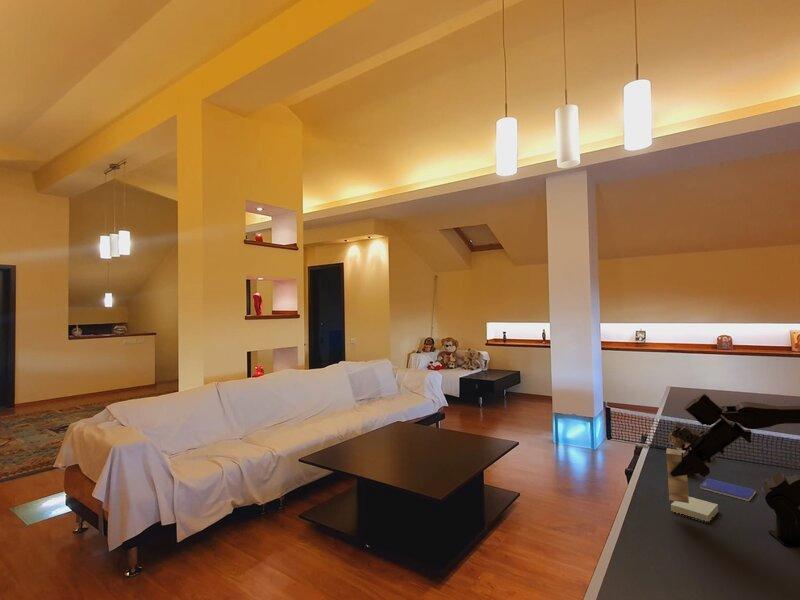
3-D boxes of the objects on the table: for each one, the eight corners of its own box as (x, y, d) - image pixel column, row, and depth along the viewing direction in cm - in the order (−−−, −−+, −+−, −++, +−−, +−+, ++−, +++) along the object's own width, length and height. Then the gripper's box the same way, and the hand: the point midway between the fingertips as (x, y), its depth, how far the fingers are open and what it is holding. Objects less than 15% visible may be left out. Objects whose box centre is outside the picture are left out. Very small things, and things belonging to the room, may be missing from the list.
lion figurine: (671, 457, 161) (670, 434, 161) (667, 453, 166) (666, 430, 167) (716, 460, 157) (715, 436, 157) (710, 455, 162) (709, 432, 162)
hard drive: (699, 485, 136) (748, 498, 126) (707, 477, 141) (755, 489, 131) (700, 490, 136) (749, 503, 126) (708, 482, 141) (755, 494, 131)
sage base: (718, 513, 121) (717, 504, 121) (708, 524, 115) (707, 515, 115) (682, 502, 128) (681, 494, 128) (671, 513, 122) (670, 504, 122)
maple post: (688, 496, 119) (685, 450, 120) (688, 503, 116) (685, 455, 116) (669, 493, 122) (666, 448, 122) (669, 499, 118) (666, 453, 118)
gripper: (690, 407, 125) (649, 439, 131) (690, 423, 109) (644, 459, 115) (725, 437, 120) (681, 469, 126) (731, 458, 105) (680, 494, 111)
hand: (671, 472), depth 120 cm, fingers closed on maple post, 4 cm apart
